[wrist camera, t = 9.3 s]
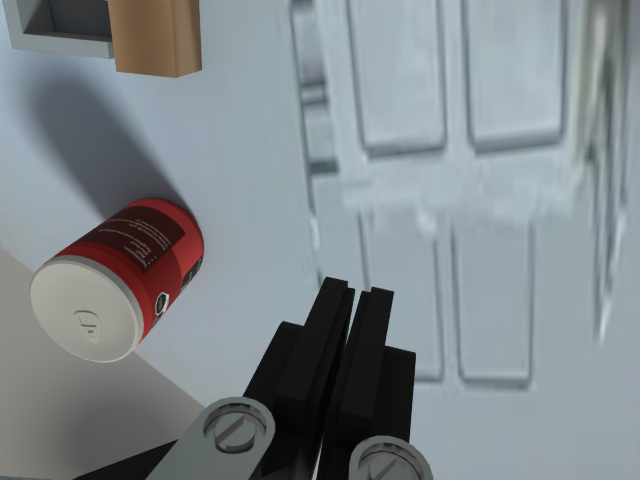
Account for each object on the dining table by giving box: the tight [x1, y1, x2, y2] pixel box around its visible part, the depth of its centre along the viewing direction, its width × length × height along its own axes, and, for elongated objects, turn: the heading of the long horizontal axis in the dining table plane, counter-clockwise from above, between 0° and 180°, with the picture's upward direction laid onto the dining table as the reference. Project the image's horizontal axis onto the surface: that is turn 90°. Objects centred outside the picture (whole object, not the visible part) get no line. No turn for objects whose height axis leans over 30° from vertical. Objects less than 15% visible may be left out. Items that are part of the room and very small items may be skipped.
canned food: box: [29, 198, 204, 362], centre depth 35 cm, size 8×8×11 cm
